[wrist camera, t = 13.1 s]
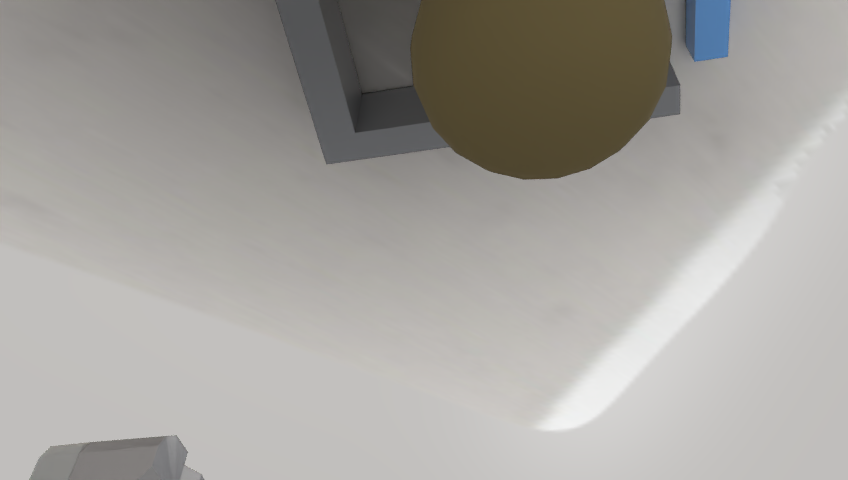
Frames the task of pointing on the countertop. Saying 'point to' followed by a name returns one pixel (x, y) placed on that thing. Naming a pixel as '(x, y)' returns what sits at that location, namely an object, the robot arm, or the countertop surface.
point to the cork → (539, 79)
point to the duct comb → (401, 108)
